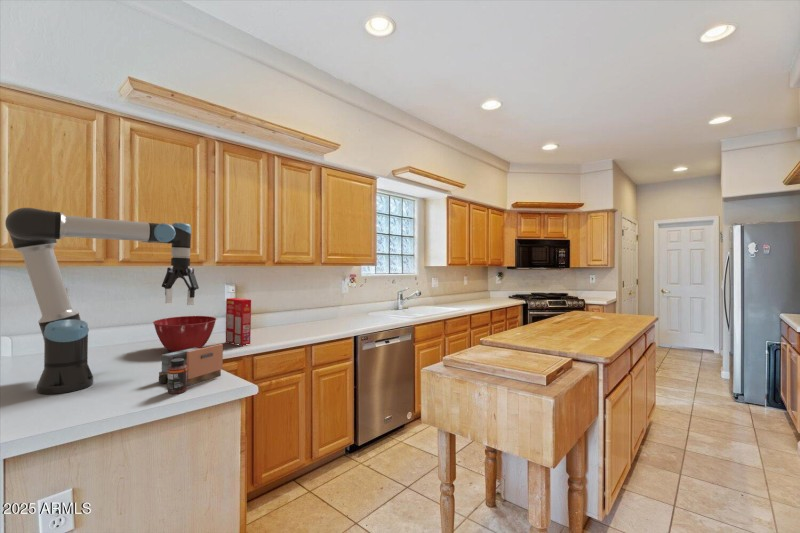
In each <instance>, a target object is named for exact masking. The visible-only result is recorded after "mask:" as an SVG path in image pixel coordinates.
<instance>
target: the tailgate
mask: <svg viewBox="0 0 800 533" xmlns="http://www.w3.org/2000/svg"><path fill="white" fill-rule="evenodd" d="M223 349H224V344H223V343H220V344H214V345H211V346H207V347H206V346H205V347H201V348H200V349H197V350H192V351H188V352H187V379H191V378H194V377H198V376H201V375H204V374H208V373H211V372H214V371H218V370H221V371H222V370H223V364H224V363H223V362H224V361H223V360H224V356H223V355H224V354H223V353H224V350H223Z"/></svg>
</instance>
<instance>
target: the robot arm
mask: <svg viewBox="0 0 800 533" xmlns="http://www.w3.org/2000/svg"><path fill="white" fill-rule="evenodd" d="M4 221H5V224H4V225H5V228H6V230H7V232H8V234H9V237H10V240H11V243H12V246H13V249H14V250H15V251H17V252H19V253H21V255H22V257H23V260H24V261H23V262H24V264H25V267H26V270H27V273H28V276H29V280H30V282H31V285H32V288H33V292H34V294H35V298H36V301H37V304H38V308H39V310H40V313H41V317H40V318H39V320H38V325H39V328H40V331H41V334H42V337H43V338H42V339H43V342H44V353H43V354H44V356H43V357H44V358H43V360H44V361H43V363H44V364H43V370H42V372H41V375H40V377H39V380H38V382H37V385H36V392H37V394H43V395H55V394H56V395H57V394H64V393H71V392H75V391H79V390H80V391H81V390H83V389H86V388H88V387H91V386H92V385H94V375H93V373H92V371H91V368H90V366H89V363H88V359H89V358H88V357H89V356H88V355H89V354H88V353H89V351H88V350H89V349H88V347H89V345H88V343H89V331H90V330H89V324H88V322H86V321H85V320H83V319H81V317H80V313H79V312H78V311H77V310H74V309H72V305H71V302H70V299H69V295H68V292H67V288H66V285H65V283H64V280H63V275H62V272H61V270H60V266H59V262H58V260H57V257H56V254H55V250H54V248H55V247H56V246H57V244H58V242H57V240H62V239H63V238H77V239H78V238H79V239H97V240H98V239H99V240H119V241H133V242H135V241H136V242H139V241H140V242H143V243H148V244H167V245H169V244H170V245H171V251H170V252H171V253H170V256H171V258H170V266H172V267H170V266H169V267H167V269H166V272H165V273H166V274H165V276H164V278H163V281H162V284H161V287H162V288H164V292H165V293H164V295H165V304H172V303H173V285H174V284H175V282H176V281H177V280H178V279H182V280H183V281H184V283H185V285H186V287H187V289H188V290H187V296H186V297H187V299H186V306H193V305H194V302H195V301H194V300H195V299H194V298H195V296H196V295H195V293H196V290H198V289H199V288H200V287H199V284H198V281H197V278H196V274H195V269H194V268H190V266H191V259H190V257H191V242H192V240H191V239H192V226H191V225H190V224H189V223H184V222H173V223H172V225H171V224H169V223H162V222H161V223H156V222H155V223H154V222H144V221H132V220H121V219H120V220H119V219H110V218H108V219H107V218H98V217H97V218H96V217H88V216H86V217H85V216H74V215H66V214H64V213H62V212H61V211H52V210H44V209H39V208H35V207H34V208H33V207H21V208H17V209H14V210H12V211H11V212H10V213H8V214H7V216H6V217H5V220H4Z"/></svg>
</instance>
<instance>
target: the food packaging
mask: <svg viewBox="0 0 800 533" xmlns="http://www.w3.org/2000/svg"><path fill="white" fill-rule="evenodd" d="M225 302H226V307H225V308H226V310H225V311H226V312H225V313H226V314H225V343H226V342H229V343H234V344H239V345H246V344H250V345H251V334H252V333H251V330H252V329H251V328H252V326H251V325H252V322H251V321H252V318H251V317H252V299H249V298H248V299H247V298H238V297H230V298H226V301H225ZM229 343H228V344H229ZM234 344H233V345H234ZM246 346H247V345H246Z"/></svg>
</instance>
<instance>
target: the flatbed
mask: <svg viewBox="0 0 800 533" xmlns="http://www.w3.org/2000/svg"><path fill="white" fill-rule="evenodd" d="M197 349H201V348H191V349H186V350H182V351H177V352H169V353H164V354H161V371H160V372H158V383H159V384H161V385H164V384H168V368H169V367H170V366H171V360H173V359H179V358H182V359H184V364H185V365H186V366H187V352H188V351H192V350H197ZM221 372H222V369H221V370H218V371H214V372H211V373H208V374H204V375H201V376H198V377H194V378H191V379H187V387H190V386H192V384H193V385H195V384H199V383H203V382H205V381H208V380H211V379H214V378H217V377H218V378H219V377H221V376H222V375H221V374H222V373H221Z"/></svg>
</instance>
